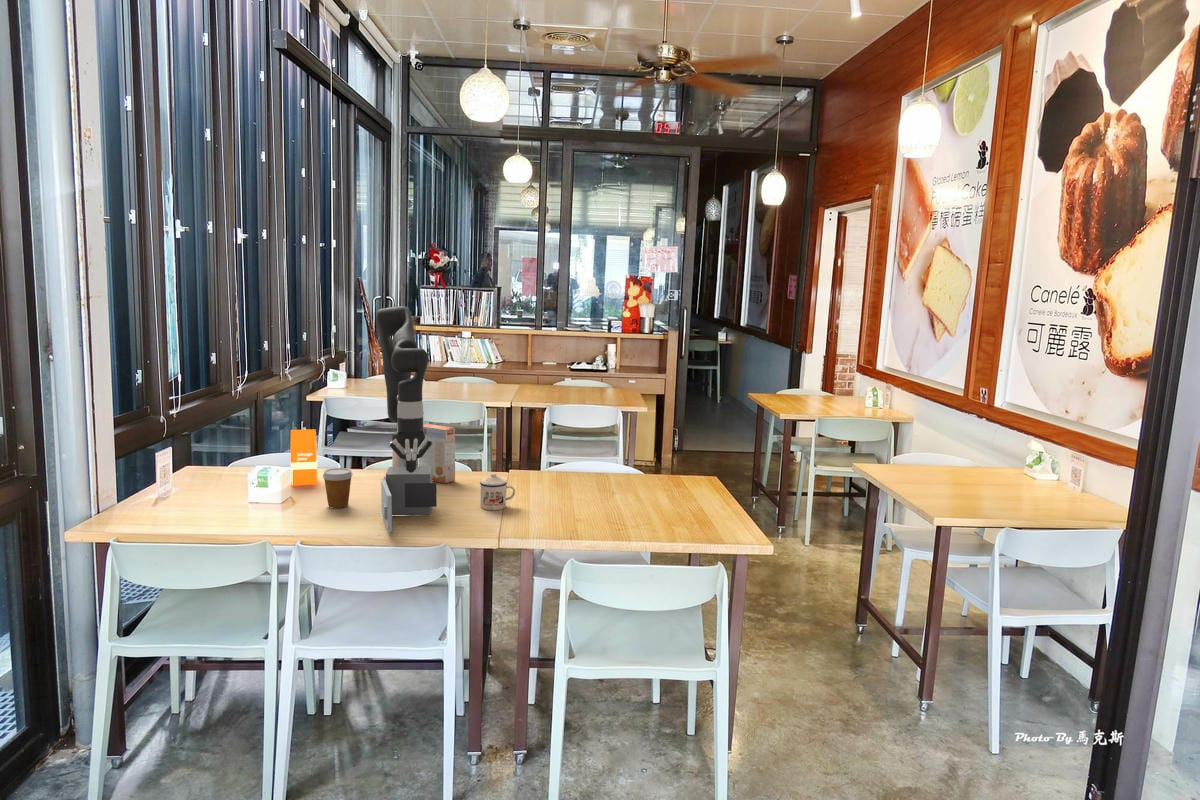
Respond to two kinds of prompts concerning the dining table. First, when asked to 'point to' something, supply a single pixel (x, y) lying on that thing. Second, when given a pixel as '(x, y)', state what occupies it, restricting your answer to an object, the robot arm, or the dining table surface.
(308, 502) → the dining table surface
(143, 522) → the dining table surface
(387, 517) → the side door
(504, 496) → the teacup with lid
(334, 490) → the disposable coffee cup
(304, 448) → the orange juice
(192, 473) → the dining table surface
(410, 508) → the grey small cabinet
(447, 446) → the cracker box
